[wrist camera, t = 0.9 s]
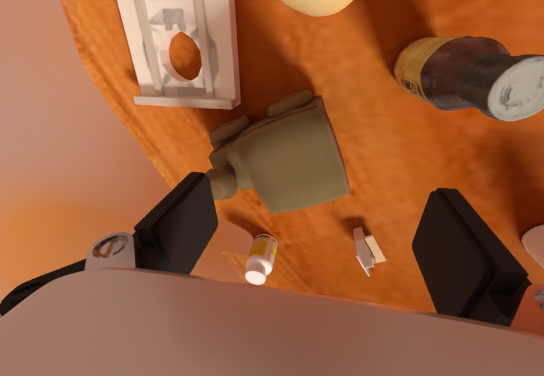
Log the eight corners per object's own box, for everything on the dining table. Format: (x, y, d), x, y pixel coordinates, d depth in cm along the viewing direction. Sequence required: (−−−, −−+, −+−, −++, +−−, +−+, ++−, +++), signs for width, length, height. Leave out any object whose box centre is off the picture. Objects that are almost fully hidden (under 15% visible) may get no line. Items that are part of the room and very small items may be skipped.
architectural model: (369, 222, 47) (375, 250, 40) (382, 246, 49) (390, 276, 43) (352, 227, 48) (355, 255, 42) (365, 251, 51) (370, 280, 44)
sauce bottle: (382, 82, 34) (437, 121, 17) (406, 31, 30) (502, 17, 14) (428, 96, 34) (528, 148, 17) (457, 45, 30) (617, 49, 14)
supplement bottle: (250, 242, 55) (236, 277, 47) (262, 228, 52) (250, 263, 44) (269, 254, 56) (259, 290, 48) (282, 241, 53) (274, 278, 45)
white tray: (103, -108, 29) (70, -130, 26) (227, -121, 27) (211, -148, 23) (152, 98, 42) (135, 104, 38) (240, 103, 39) (231, 109, 35)
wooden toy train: (323, 76, 35) (320, 98, 21) (345, 146, 40) (354, 202, 26) (212, 124, 42) (155, 165, 28) (242, 179, 47) (205, 237, 33)
